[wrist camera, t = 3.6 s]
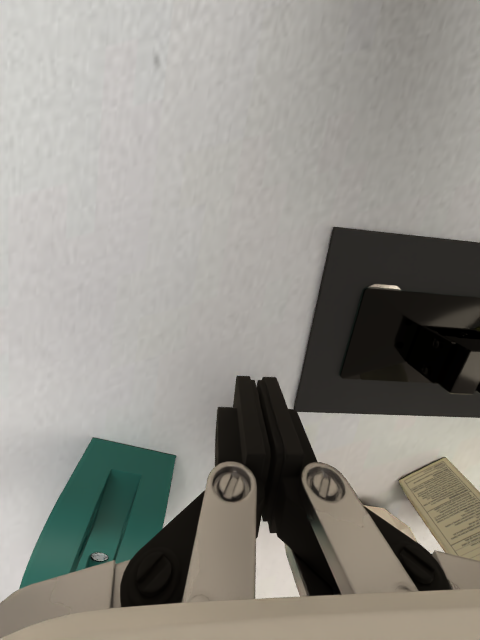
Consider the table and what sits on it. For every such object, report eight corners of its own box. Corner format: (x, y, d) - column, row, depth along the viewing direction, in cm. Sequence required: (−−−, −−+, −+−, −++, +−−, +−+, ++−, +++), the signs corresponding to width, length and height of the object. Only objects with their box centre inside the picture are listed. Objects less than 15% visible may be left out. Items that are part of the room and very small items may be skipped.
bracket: (93, 437, 21) (24, 557, 14) (175, 455, 22) (154, 573, 15) (59, 567, 27) (-1, 699, 19) (127, 575, 28) (94, 702, 21)
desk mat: (332, 226, 16) (335, 227, 16) (656, 261, 19) (662, 262, 18) (293, 409, 21) (294, 411, 21) (551, 417, 24) (555, 420, 23)
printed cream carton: (409, 502, 27) (511, 656, 17) (396, 478, 25) (499, 632, 16) (458, 480, 26) (592, 628, 17) (447, 454, 25) (587, 601, 15)
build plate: (337, 375, 20) (368, 418, 16) (363, 282, 17) (409, 303, 13) (484, 383, 21) (550, 426, 17) (529, 297, 19) (621, 321, 14)
